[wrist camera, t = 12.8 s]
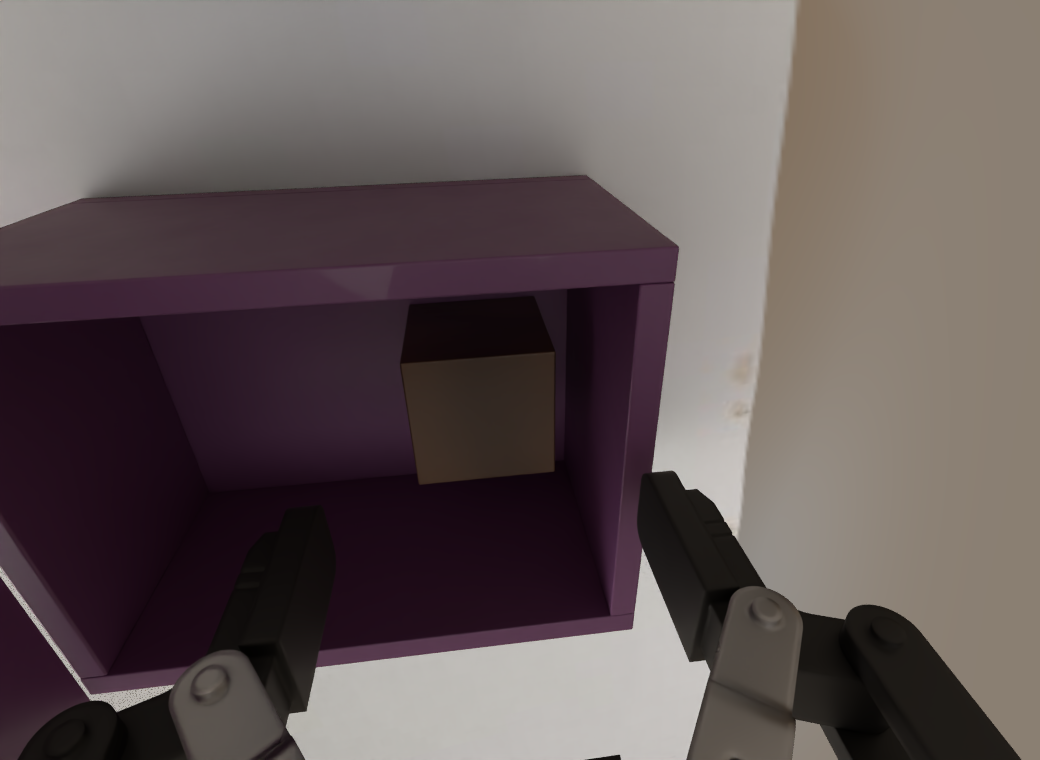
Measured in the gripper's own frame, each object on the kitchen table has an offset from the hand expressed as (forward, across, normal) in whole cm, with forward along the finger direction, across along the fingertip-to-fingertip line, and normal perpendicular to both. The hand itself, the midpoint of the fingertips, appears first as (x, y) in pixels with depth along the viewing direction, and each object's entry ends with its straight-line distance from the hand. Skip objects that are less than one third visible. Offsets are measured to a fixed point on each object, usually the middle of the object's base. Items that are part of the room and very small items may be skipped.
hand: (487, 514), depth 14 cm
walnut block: (+9, 0, 0) cm, 9 cm away
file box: (+10, +4, 0) cm, 10 cm away
